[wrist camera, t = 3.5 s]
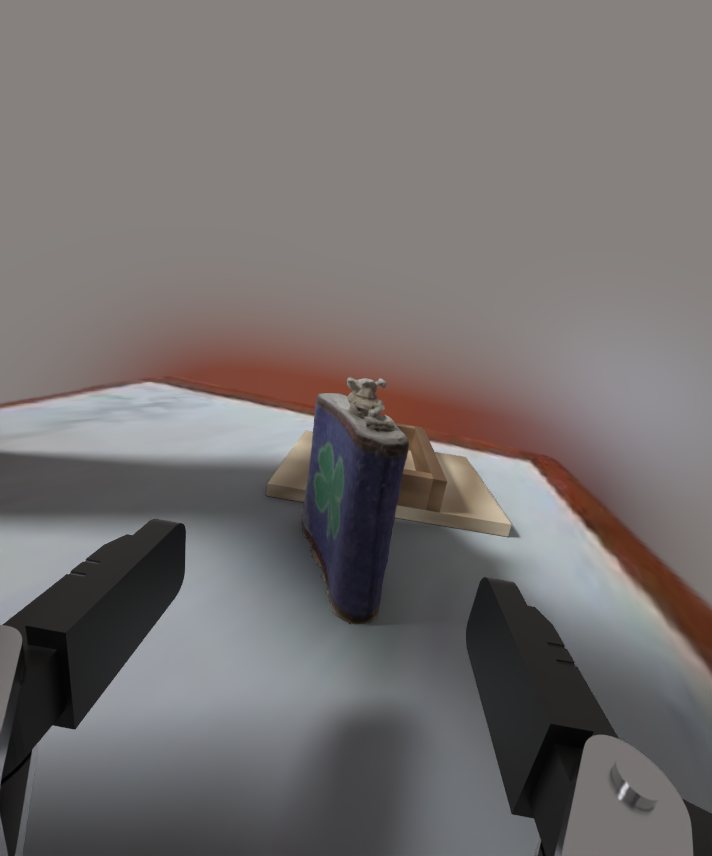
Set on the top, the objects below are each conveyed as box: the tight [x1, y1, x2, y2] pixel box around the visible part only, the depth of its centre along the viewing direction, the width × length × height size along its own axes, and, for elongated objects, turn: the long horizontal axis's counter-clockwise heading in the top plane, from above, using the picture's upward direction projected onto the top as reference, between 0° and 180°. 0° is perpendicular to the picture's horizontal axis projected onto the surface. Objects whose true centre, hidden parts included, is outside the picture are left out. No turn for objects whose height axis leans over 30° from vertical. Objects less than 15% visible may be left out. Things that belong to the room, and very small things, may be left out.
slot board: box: [266, 423, 511, 537], centre depth 32 cm, size 18×14×4 cm
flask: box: [302, 378, 409, 624], centre depth 19 cm, size 9×3×11 cm, turn 20°
